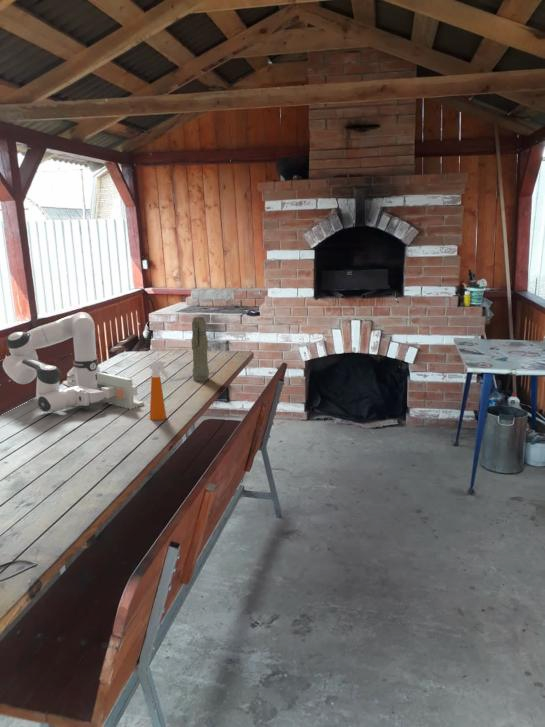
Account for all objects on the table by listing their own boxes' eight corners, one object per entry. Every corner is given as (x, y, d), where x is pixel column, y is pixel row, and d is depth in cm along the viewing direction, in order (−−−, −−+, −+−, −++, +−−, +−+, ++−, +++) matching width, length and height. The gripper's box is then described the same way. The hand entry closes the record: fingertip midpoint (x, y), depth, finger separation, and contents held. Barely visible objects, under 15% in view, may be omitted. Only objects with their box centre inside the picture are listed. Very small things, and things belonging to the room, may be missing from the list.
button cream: (102, 396, 260) (101, 387, 259) (117, 392, 266) (116, 383, 265) (108, 398, 257) (107, 388, 256) (123, 394, 264) (122, 384, 263)
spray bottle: (164, 423, 237) (161, 363, 231) (146, 418, 242) (142, 360, 236) (176, 418, 242) (173, 359, 237) (157, 414, 248) (154, 357, 242)
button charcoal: (97, 393, 266) (97, 384, 265) (112, 389, 273) (112, 380, 272) (103, 394, 263) (102, 385, 262) (118, 390, 270) (118, 381, 269)
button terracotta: (116, 398, 258) (115, 388, 257) (131, 393, 264) (130, 384, 263) (122, 399, 255) (121, 390, 254) (137, 395, 262) (136, 385, 261)
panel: (98, 400, 270) (96, 372, 267) (112, 396, 276) (110, 369, 273) (130, 409, 256) (128, 380, 253) (144, 405, 262) (142, 376, 259)
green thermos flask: (191, 382, 303) (188, 318, 296) (195, 376, 315) (192, 315, 307) (207, 382, 303) (204, 318, 295) (210, 376, 315) (208, 315, 307)
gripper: (62, 398, 260) (87, 392, 271) (88, 406, 248) (113, 399, 259) (61, 386, 259) (86, 379, 269) (87, 392, 246) (112, 386, 257)
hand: (100, 389), depth 264 cm, fingers closed
